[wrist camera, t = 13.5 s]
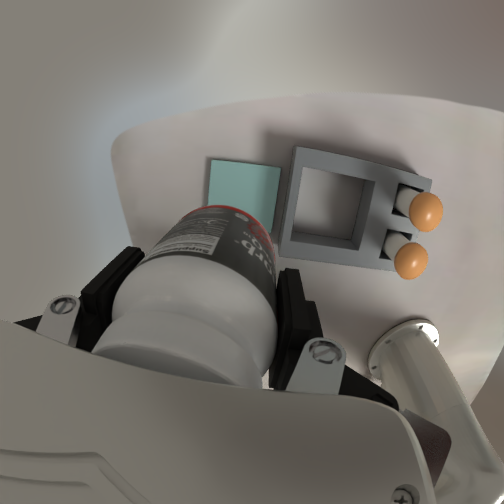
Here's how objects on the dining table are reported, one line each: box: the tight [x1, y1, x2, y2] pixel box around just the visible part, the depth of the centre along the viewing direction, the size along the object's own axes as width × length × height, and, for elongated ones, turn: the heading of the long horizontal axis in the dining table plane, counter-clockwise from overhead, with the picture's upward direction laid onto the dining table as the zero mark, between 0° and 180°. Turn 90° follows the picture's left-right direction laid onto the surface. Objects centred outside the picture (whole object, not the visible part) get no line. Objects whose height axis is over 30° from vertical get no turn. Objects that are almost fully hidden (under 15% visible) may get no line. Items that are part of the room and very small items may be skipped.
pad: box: [208, 160, 281, 233], centre depth 28 cm, size 7×7×1 cm
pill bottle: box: [91, 204, 278, 389], centre depth 10 cm, size 6×6×10 cm
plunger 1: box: [393, 184, 443, 232], centre depth 24 cm, size 4×4×7 cm
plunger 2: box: [382, 229, 428, 280], centre depth 26 cm, size 4×4×7 cm
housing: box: [278, 146, 432, 272], centre depth 27 cm, size 11×15×3 cm
